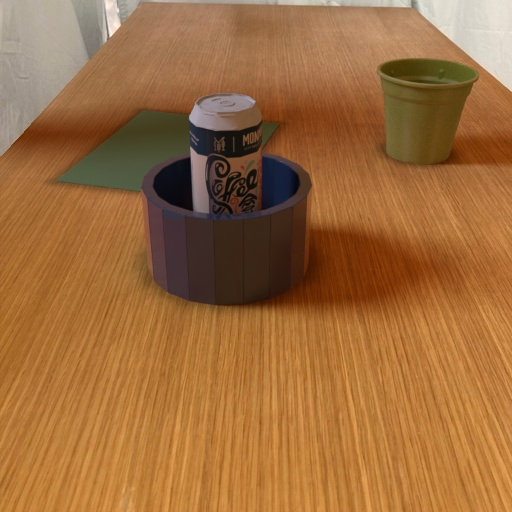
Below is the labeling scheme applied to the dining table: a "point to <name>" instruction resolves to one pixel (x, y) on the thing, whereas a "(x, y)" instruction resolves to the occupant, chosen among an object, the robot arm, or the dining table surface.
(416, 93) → the plant pot
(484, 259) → the dining table surface
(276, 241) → the pot
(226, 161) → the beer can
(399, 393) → the dining table surface
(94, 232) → the dining table surface
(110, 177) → the mat
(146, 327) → the dining table surface
